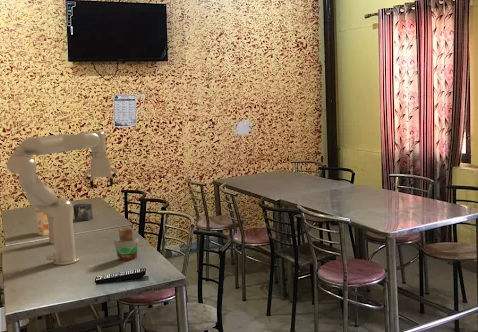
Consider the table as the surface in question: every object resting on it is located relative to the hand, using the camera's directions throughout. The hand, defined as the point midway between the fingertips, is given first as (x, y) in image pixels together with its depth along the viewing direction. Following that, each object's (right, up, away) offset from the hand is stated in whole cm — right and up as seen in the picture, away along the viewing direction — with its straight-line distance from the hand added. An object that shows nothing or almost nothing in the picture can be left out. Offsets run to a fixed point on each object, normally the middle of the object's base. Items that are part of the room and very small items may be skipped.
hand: (102, 187), depth 282 cm
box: (-32, -25, +79) cm, 89 cm away
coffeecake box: (-43, -30, +47) cm, 71 cm away
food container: (+17, -35, -17) cm, 43 cm away
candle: (-29, -33, +22) cm, 49 cm away
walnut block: (+17, -25, -18) cm, 35 cm away
